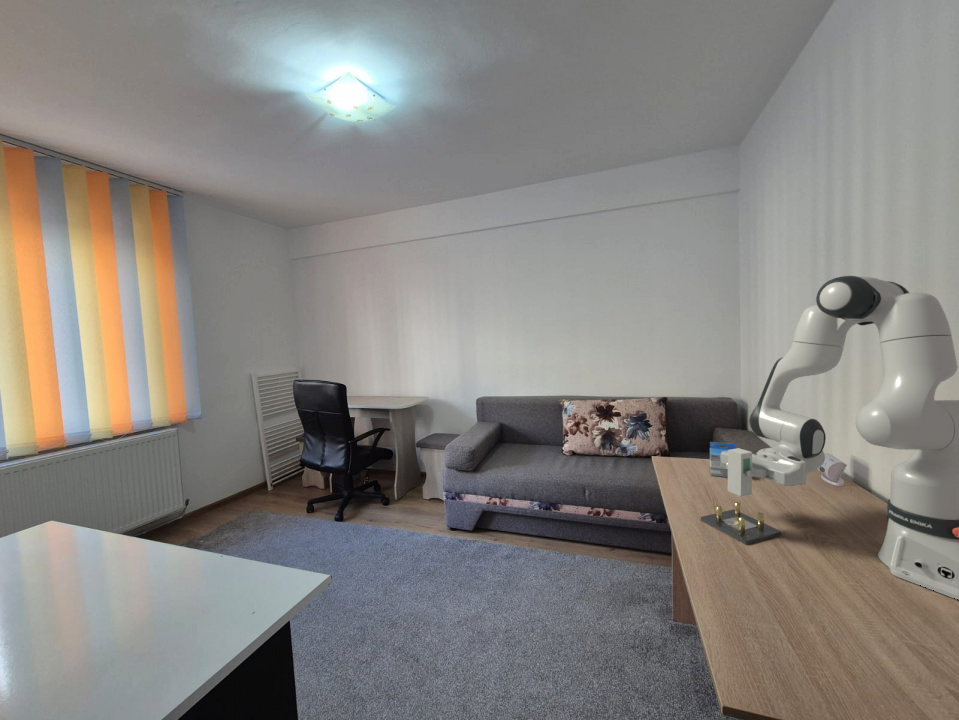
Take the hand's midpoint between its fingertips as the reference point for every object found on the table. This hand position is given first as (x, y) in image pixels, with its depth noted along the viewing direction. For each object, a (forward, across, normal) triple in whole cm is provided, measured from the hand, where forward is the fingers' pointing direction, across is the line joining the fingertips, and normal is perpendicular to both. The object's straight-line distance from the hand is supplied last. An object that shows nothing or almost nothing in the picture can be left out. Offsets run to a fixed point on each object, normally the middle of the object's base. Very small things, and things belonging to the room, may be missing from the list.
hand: (737, 470), depth 108 cm
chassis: (-1, 0, +17) cm, 17 cm away
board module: (-1, 0, +7) cm, 7 cm away
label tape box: (-30, -30, +17) cm, 46 cm away
